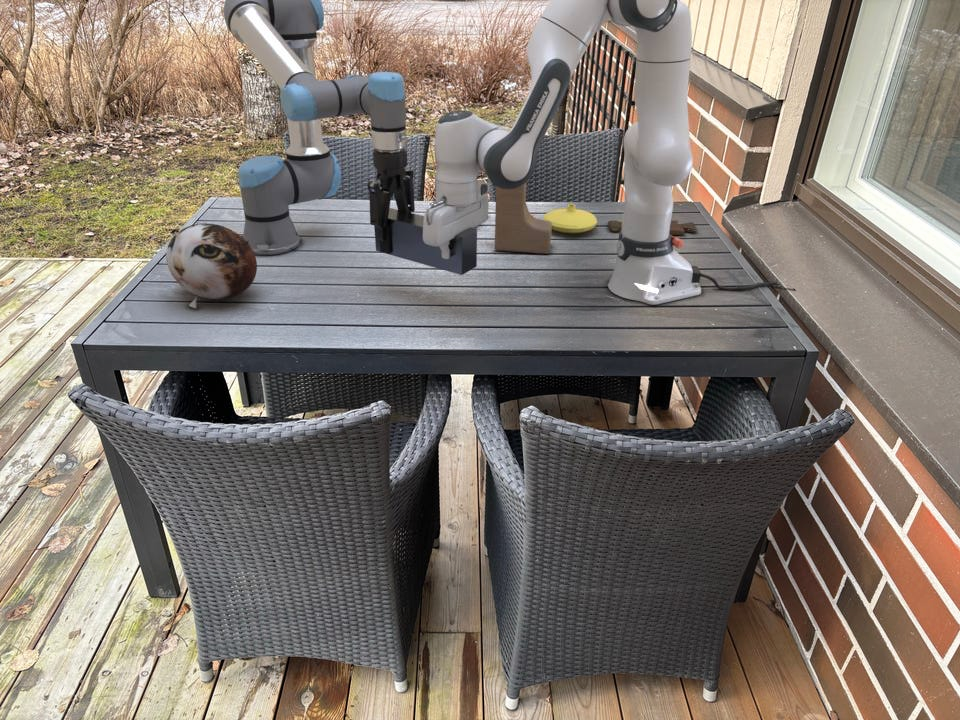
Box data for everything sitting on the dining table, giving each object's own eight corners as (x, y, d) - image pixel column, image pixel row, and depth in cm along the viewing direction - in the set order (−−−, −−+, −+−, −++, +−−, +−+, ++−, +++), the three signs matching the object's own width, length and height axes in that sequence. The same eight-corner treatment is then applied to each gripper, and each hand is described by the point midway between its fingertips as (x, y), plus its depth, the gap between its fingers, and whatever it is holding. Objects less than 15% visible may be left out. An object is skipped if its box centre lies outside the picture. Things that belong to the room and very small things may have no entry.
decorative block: (549, 254, 193) (556, 142, 178) (494, 251, 195) (497, 139, 180) (550, 244, 200) (558, 135, 184) (497, 241, 201) (500, 132, 186)
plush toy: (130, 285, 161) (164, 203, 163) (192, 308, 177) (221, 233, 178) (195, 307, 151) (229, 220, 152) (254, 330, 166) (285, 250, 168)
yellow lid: (559, 216, 220) (561, 193, 217) (605, 227, 212) (608, 204, 209) (532, 230, 209) (533, 207, 206) (580, 242, 201) (582, 218, 198)
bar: (375, 250, 168) (373, 214, 164) (391, 243, 172) (389, 207, 168) (462, 275, 157) (461, 236, 152) (476, 266, 161) (477, 228, 156)
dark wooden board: (699, 237, 207) (691, 225, 216) (700, 231, 206) (692, 220, 215) (610, 234, 207) (606, 222, 216) (611, 228, 207) (607, 217, 215)
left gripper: (374, 160, 148) (381, 264, 160) (429, 142, 162) (431, 239, 173) (347, 155, 151) (355, 256, 163) (403, 137, 165) (407, 232, 177)
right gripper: (439, 207, 143) (440, 271, 150) (494, 182, 157) (492, 241, 164) (414, 201, 146) (416, 264, 153) (470, 177, 160) (470, 235, 167)
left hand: (394, 247), depth 168 cm, fingers closed on bar, 6 cm apart
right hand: (456, 252), depth 159 cm, fingers closed on bar, 6 cm apart
